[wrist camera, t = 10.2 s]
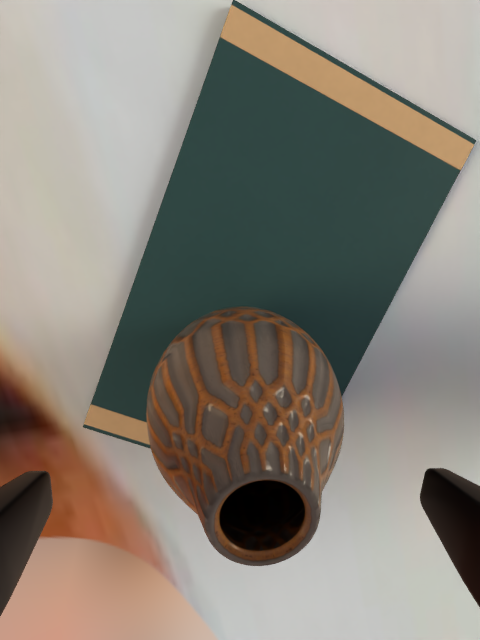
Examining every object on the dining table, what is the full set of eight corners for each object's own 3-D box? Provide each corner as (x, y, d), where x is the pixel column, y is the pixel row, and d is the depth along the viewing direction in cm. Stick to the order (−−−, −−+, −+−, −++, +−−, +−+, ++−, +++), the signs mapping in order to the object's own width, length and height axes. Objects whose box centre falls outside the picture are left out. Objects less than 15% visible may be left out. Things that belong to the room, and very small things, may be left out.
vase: (153, 407, 14) (55, 623, 6) (189, 277, 13) (133, 312, 5) (278, 438, 15) (352, 665, 7) (324, 319, 14) (485, 414, 5)
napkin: (471, 142, 13) (477, 139, 13) (290, 488, 16) (291, 493, 16) (233, 5, 11) (233, -2, 11) (85, 423, 15) (82, 427, 14)
